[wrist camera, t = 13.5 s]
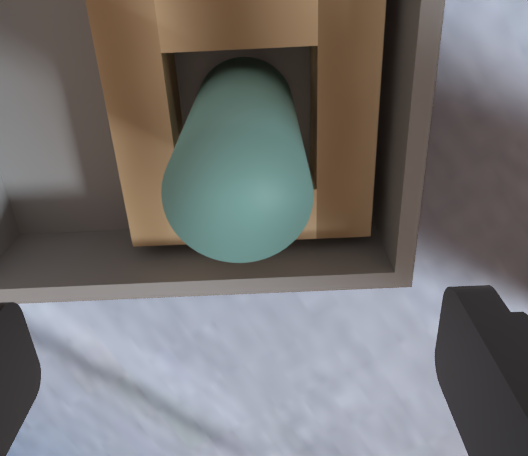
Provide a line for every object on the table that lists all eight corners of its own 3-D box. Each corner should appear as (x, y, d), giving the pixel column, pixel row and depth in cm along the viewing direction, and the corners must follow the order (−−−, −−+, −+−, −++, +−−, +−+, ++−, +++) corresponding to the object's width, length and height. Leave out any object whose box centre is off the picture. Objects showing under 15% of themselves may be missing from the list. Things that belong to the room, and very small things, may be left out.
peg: (292, 54, 22) (313, 121, 14) (293, 149, 24) (313, 260, 16) (192, 58, 22) (150, 128, 14) (202, 153, 25) (171, 265, 16)
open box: (420, -273, 18) (488, -366, 13) (382, 222, 28) (411, 286, 22) (-137, -244, 18) (-297, -323, 13) (16, 238, 28) (-40, 306, 23)
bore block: (371, -34, 21) (388, -31, 18) (359, 207, 26) (370, 236, 23) (104, -21, 21) (82, -17, 18) (145, 216, 26) (132, 246, 24)
